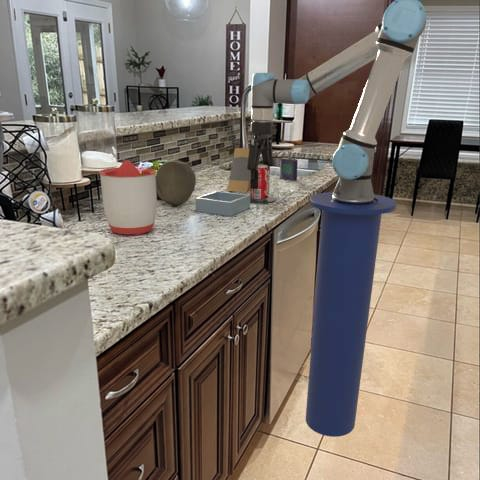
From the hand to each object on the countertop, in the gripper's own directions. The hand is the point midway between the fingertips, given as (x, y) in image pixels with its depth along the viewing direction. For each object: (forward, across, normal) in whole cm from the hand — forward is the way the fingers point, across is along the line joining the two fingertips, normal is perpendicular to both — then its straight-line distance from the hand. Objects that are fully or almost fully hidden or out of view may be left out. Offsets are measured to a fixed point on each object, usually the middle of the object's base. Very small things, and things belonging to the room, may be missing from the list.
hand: (259, 186), depth 184 cm
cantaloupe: (+5, +22, -22) cm, 32 cm away
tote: (+5, +20, -4) cm, 21 cm away
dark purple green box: (+5, -46, -8) cm, 47 cm away
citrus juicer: (+5, +56, -14) cm, 57 cm away
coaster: (+5, 0, 0) cm, 5 cm away
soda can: (+5, 0, 0) cm, 5 cm away
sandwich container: (+5, -17, -17) cm, 24 cm away
